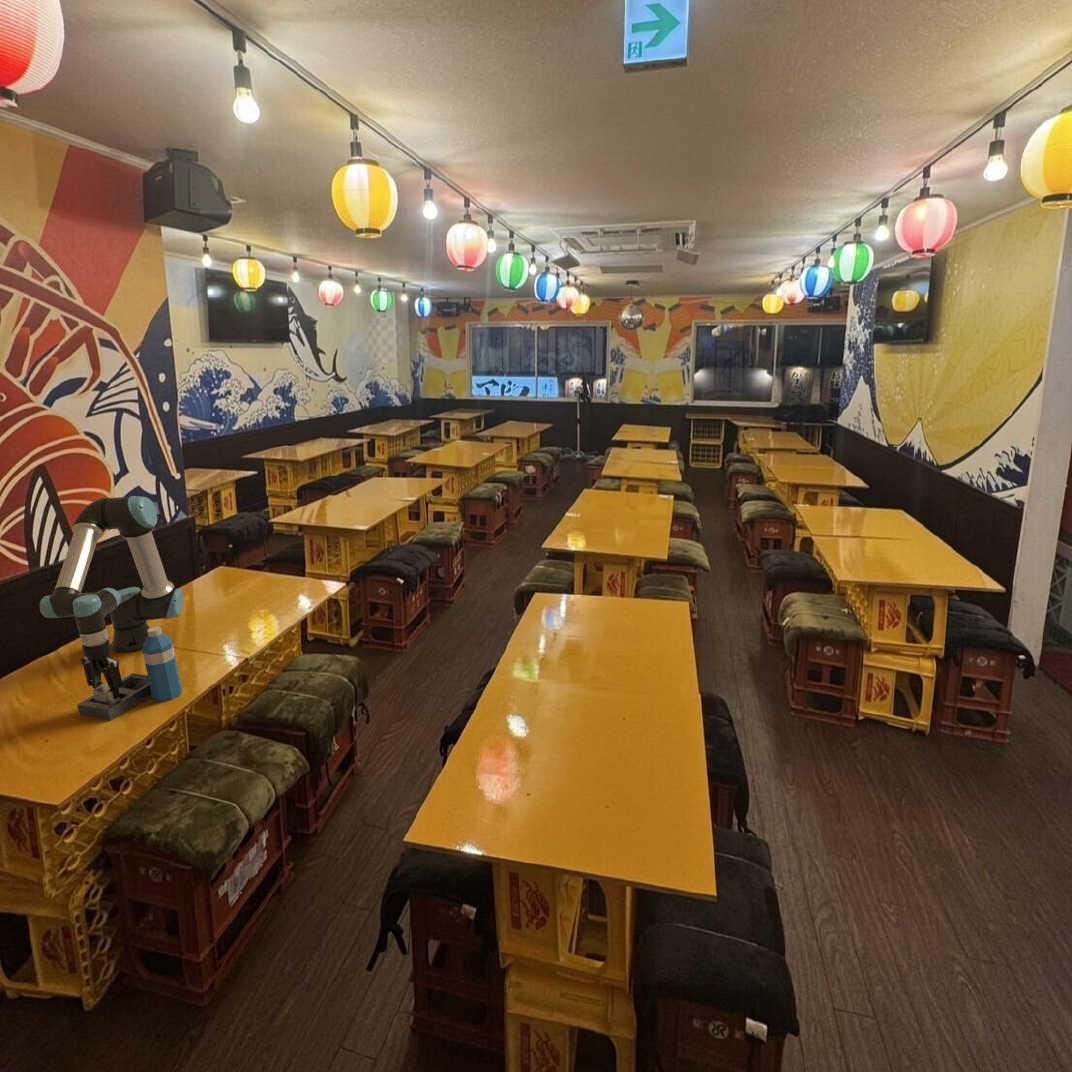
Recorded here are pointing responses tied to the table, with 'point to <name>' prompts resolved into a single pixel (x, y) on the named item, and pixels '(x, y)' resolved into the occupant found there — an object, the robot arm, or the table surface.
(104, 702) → the brushed gray brick
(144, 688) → the grey compartment tray
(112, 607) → the robot arm
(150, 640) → the water bottle
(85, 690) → the table surface
